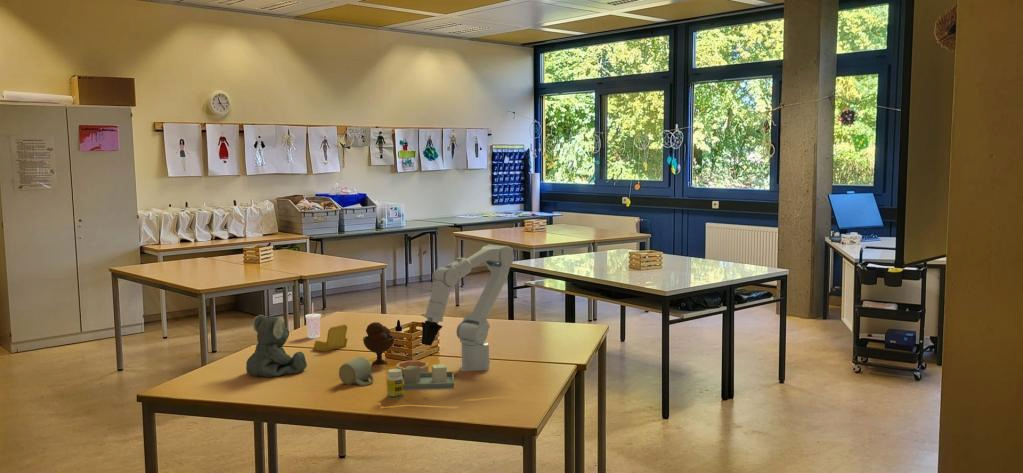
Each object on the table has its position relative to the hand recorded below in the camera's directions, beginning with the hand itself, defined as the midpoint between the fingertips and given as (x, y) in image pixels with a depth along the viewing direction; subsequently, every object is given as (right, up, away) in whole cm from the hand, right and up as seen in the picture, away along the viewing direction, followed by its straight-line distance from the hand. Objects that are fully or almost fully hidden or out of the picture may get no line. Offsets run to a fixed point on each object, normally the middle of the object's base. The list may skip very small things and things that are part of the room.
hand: (426, 344), depth 250 cm
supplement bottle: (-7, -14, -16) cm, 22 cm away
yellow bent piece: (-41, -8, +47) cm, 63 cm away
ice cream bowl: (-19, -10, +22) cm, 31 cm away
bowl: (-6, -11, +10) cm, 16 cm away
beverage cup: (-52, -6, +65) cm, 83 cm away
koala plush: (-53, -11, +14) cm, 56 cm away
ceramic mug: (-21, -12, 0) cm, 25 cm away
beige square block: (-4, -12, -2) cm, 13 cm away
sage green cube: (+4, -11, -1) cm, 12 cm away
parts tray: (0, -12, -1) cm, 12 cm away
